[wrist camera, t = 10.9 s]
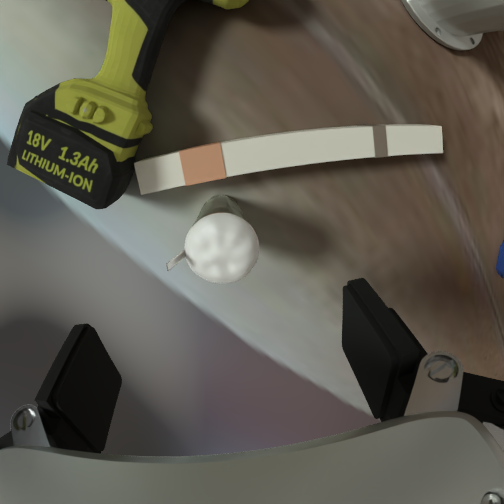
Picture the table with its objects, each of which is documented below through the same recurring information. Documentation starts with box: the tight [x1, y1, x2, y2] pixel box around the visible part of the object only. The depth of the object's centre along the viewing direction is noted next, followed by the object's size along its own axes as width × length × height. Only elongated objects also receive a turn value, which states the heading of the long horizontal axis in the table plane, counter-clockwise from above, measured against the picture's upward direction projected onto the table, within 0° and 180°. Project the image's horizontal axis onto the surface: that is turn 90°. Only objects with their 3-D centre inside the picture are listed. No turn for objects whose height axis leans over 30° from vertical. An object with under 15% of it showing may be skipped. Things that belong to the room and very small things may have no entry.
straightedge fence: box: [134, 124, 443, 195], centre depth 22 cm, size 26×3×3 cm, turn 99°
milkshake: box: [167, 195, 259, 283], centre depth 21 cm, size 4×5×10 cm
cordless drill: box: [7, 0, 249, 209], centre depth 14 cm, size 7×25×25 cm
